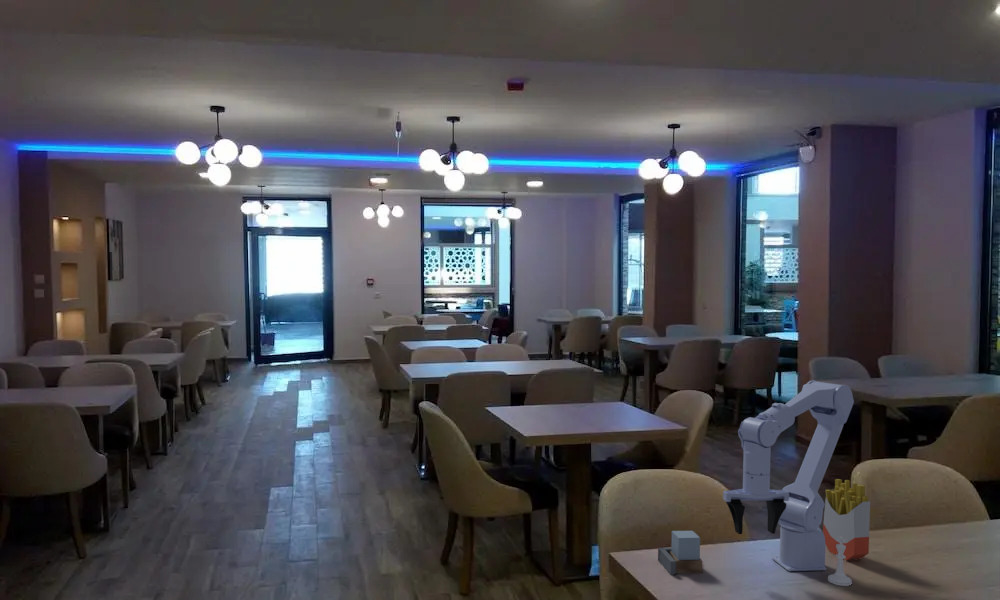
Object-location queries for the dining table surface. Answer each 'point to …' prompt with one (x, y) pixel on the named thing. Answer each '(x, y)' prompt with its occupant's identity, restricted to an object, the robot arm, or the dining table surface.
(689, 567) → the walnut block
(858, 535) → the french fries container
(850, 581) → the chess piece
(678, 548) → the blue-grey cube
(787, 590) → the dining table surface
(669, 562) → the corner jig
